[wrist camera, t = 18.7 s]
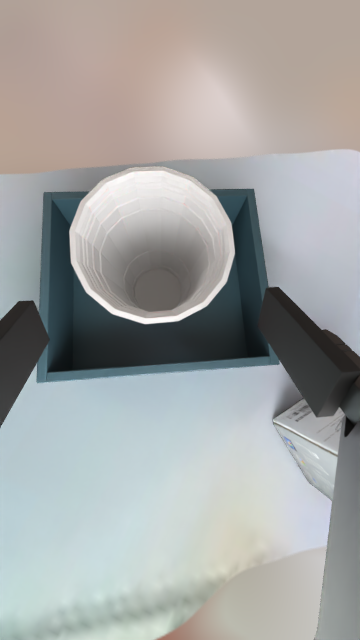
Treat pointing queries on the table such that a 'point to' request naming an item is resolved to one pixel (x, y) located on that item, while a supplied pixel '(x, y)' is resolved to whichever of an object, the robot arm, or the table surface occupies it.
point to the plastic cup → (151, 244)
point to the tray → (157, 338)
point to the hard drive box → (312, 443)
